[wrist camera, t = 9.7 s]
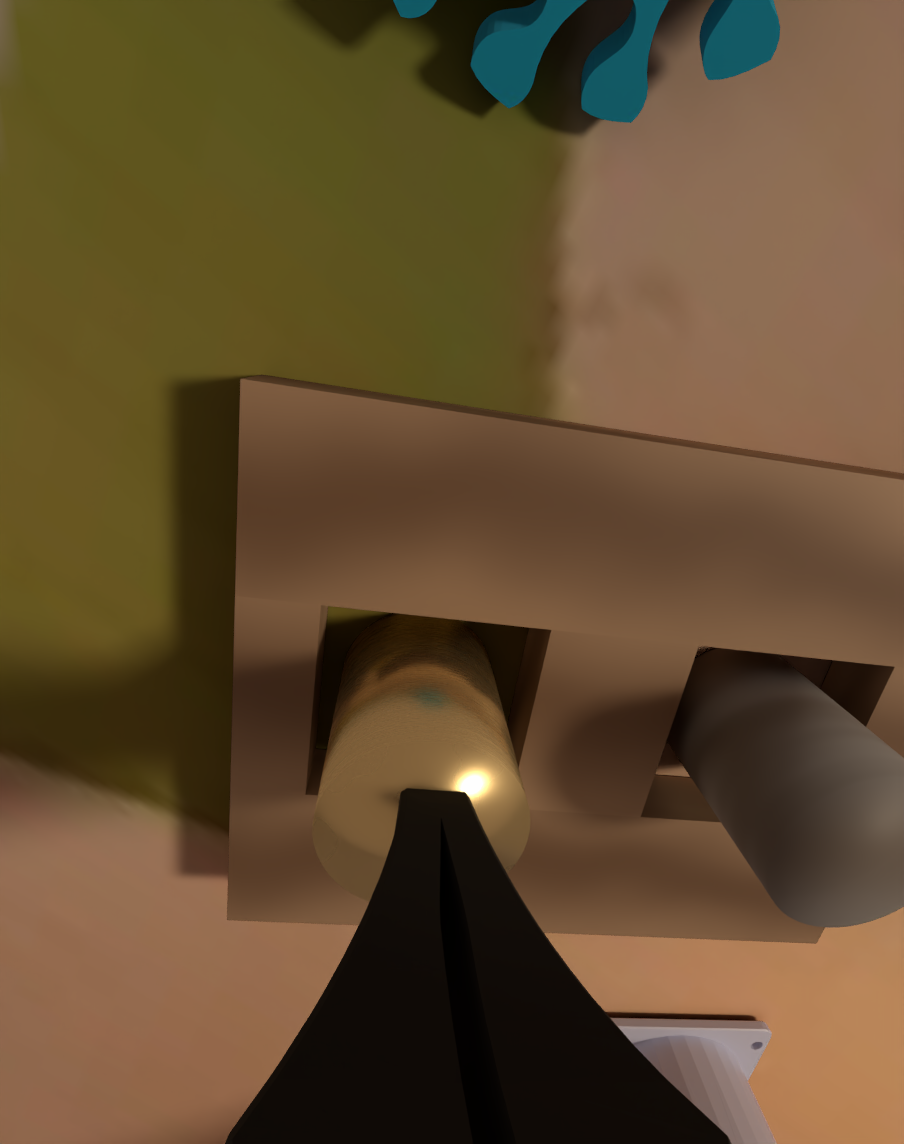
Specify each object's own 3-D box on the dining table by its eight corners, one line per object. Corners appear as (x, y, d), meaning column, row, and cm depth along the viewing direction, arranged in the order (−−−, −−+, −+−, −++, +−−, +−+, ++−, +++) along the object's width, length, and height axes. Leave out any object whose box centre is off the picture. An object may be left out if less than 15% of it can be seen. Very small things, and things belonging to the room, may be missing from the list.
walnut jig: (781, 893, 22) (908, 1077, 17) (244, 866, 20) (179, 1071, 14) (976, 485, 17) (1266, 554, 11) (261, 374, 14) (168, 392, 9)
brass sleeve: (485, 739, 19) (519, 907, 13) (343, 739, 18) (315, 912, 13) (497, 611, 17) (542, 741, 11) (341, 608, 17) (308, 741, 11)
